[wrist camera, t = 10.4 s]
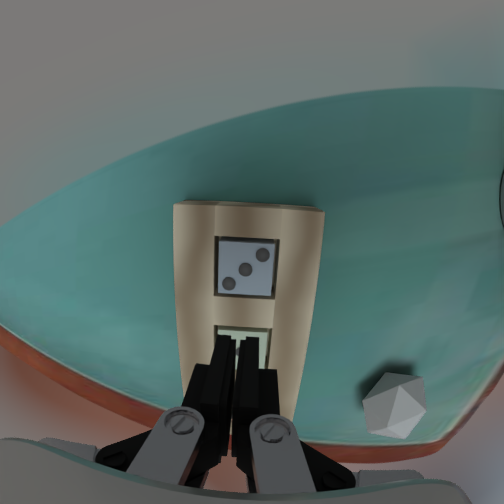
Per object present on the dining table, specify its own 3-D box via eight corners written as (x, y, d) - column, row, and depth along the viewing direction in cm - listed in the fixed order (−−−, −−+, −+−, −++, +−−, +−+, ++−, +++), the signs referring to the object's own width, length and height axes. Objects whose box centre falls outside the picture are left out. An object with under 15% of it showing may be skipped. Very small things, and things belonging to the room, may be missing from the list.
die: (342, 388, 32) (358, 455, 26) (388, 363, 26) (411, 442, 20) (383, 378, 35) (399, 436, 29) (426, 353, 29) (448, 419, 23)
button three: (272, 236, 26) (274, 244, 22) (269, 283, 27) (270, 296, 24) (223, 233, 26) (218, 241, 22) (222, 280, 27) (217, 293, 24)
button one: (266, 317, 28) (267, 333, 24) (263, 353, 29) (263, 371, 26) (221, 314, 28) (217, 330, 24) (221, 350, 29) (217, 369, 26)
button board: (315, 206, 26) (324, 212, 22) (286, 413, 33) (288, 436, 29) (185, 199, 26) (173, 204, 22) (194, 408, 33) (188, 429, 29)
